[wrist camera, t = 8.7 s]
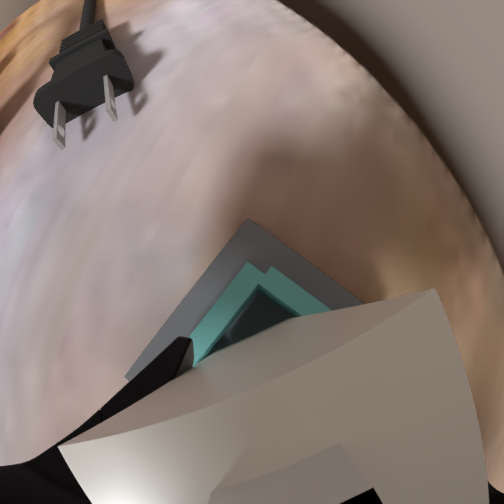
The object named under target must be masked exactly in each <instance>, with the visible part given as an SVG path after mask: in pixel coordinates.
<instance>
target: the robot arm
mask: <svg viewBox="0 0 504 504" xmlns="http://www.w3.org/2000/svg"><path fill="white" fill-rule="evenodd" d="M193 362H194V348H193V340H192V338H189V337H184V336H178V337H177V338H176V339H175V340H174V341H173V342H171V343H170V344H169V345H168V346H167V347H166V348H165V349H164V350H163V351H162V352H161V353H160V354H159V355H158V356H157V357H155V358H154V359H153V360H152V361H151V362H150V363H149V364H148V365H147V366H146V367H145V368H144V369H143V370H141V371H140V372H139V373H138V374H137V375H136V376H135V377H134V378H133V379H132V380H131V381H130V382H129V383H127V384H126V385H125V386H124V387H123V388H122V389H121V390H120V391H119V392H118V393H117V394H116V395H114V396H113V397H112V398H111V399H110V400H109V401H108V402H107V403H106V404H105V405H104V406H103V407H101V410H98V411H97V412H96V413H95V414H94V415H93V416H91V417H90V418H89V419H88V420H87V421H86V422H85V423H83V424H82V425H81V426H80V427H79V428H77V429H76V430H75V431H73V432H72V433H71V434H69V435H68V436H67V437H65V438H64V439H62V440H61V441H59V442H58V443H56V444H55V445H53V446H52V447H51V448H49V449H48V450H46V451H45V452H43V453H42V454H40V455H39V456H37V457H35V458H34V459H32V460H29V461H27V462H24V463H20V464H14V465H7V466H0V504H92V502H91V501H90V500H89V498H88V497H87V495H86V494H85V492H84V491H83V489H82V488H81V486H80V484H79V483H78V481H77V480H76V478H75V476H74V475H73V473H72V471H71V470H70V468H69V466H68V464H67V463H66V461H65V459H64V457H63V455H62V454H61V452H60V450H59V448H58V446H59V445H61V444H63V443H65V442H67V441H69V440H71V439H73V438H75V437H76V436H78V435H80V434H82V433H84V432H86V431H87V430H89V429H91V428H93V427H95V426H96V425H98V424H100V423H102V422H103V421H105V420H107V419H109V418H110V417H112V416H114V415H116V414H117V413H119V412H121V411H122V410H124V409H126V408H128V407H129V406H131V405H133V404H134V403H136V402H138V401H139V400H141V399H143V398H144V397H146V396H147V395H149V394H151V393H152V392H154V391H156V390H157V389H159V388H160V387H162V386H164V385H165V384H167V383H168V382H170V381H172V380H174V379H175V378H177V377H179V376H180V375H182V374H184V373H185V372H187V371H188V370H190V369H191V368H192V367H193ZM488 492H489V504H504V493H502V492H500V491H498V490H496V489H495V488H494V487H493V486H492V485H491V484H490V483H489V482H488Z"/></svg>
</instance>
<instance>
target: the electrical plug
mask: <svg viewBox="0 0 504 504" xmlns="http://www.w3.org/2000/svg"><path fill="white" fill-rule="evenodd" d="M95 3H96V0H85V2H84V7H83V12H82V17H81V23H80V29H79V31H78V32H76V33H74V34H72V35H70V36H68V37H67V38H65V39H63V40H62V43H61V46H60V51H59V52H60V53H59V54H58V55H56V56H54V57H53V58H51V59H50V61H49V64H50V65H51V67H52V68H53V70H54V73H53V75H52V78H51V81H49V82H48V83H46V84H45V85H43V86H42V87H41V88H39V89H38V90H37V92H36V93H35V97H34V102H33V104H34V108H35V109H36V111H37V112H38V113H39V114H40V115H41V117H42V118H43V119H44V120H45V121H46V122H47V124H48V125H49V126H51V127H52V128H54V129H53V141H54V142H55V143H56V144H57V145H58V146H59V147H60V148H61V149H63V148H65V124H66V123H68V122H69V121H71V120H73V119H75V118H76V117H78V116H80V115H82V114H84V113H85V112H87V111H89V110H91V109H93V108H95V107H97V106H99V105H101V104H103V103H105V102H106V111H107V112H108V114H109V115H110V117H111V119H112V120H113V122H114V121H116V120H118V119H117V113H116V106H115V97H117V96H119V95H121V94H124V93H126V92H128V91H130V90H132V89H133V87H134V82H133V78H132V74H131V72H130V70H129V67H128V65H127V63H126V61H125V58H124V56H123V55H122V53H121V52H120V51H118V50H116V47H115V45H114V43H113V41H112V38H111V36H110V34H109V32H108V29H106V27H105V25H104V22H103V20H102V19H101V20H99V21H97V22H95V23H94V15H95ZM58 129H59V130H60V132H61V135H60V133H59V132H58Z"/></svg>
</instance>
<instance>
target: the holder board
mask: <svg viewBox="0 0 504 504" xmlns="http://www.w3.org/2000/svg"><path fill="white" fill-rule="evenodd" d="M363 304H365V303H363V302H362V301H361V300H359V299H358V298H357V297H355V296H354V295H353V294H351V293H350V292H349V291H347V290H346V289H345V288H343V287H342V286H341V285H339V284H338V283H337V282H335V281H334V280H333V279H331V278H330V277H329V276H327V275H326V274H325V273H323V272H322V271H320V270H319V269H318V268H316V267H315V266H314V265H312V264H311V263H310V262H308V261H307V260H306V259H304V258H303V257H301V256H300V255H299V254H297V253H296V252H295V251H293V250H292V249H290V248H289V247H288V246H286V245H285V244H284V243H282V242H281V241H279V240H278V239H277V238H275V237H274V236H272V235H271V234H270V233H268V232H267V231H265V230H264V229H263V228H261V227H260V226H258V225H257V224H256V223H254V222H253V221H251V220H250V219H249V218H248V219H247V220H246V221H245V222H244V224H243V225H242V226H241V227H240V228H239V230H238V231H237V232H236V233H235V235H234V236H233V237H232V238H231V240H230V241H229V242H228V243H227V245H226V246H225V247H224V248H223V250H222V251H221V252H220V253H219V255H218V256H217V257H216V258H215V260H214V261H213V262H212V263H211V265H210V266H209V267H208V269H207V270H206V271H205V272H204V274H203V275H202V276H201V277H200V279H199V280H198V281H197V282H196V284H195V285H194V286H193V288H192V289H191V290H190V291H189V293H188V294H187V295H186V297H185V298H184V299H183V300H182V302H181V303H180V304H179V306H178V307H177V308H176V309H175V311H174V312H173V313H172V315H171V316H170V317H169V318H168V320H167V321H166V322H165V324H164V325H163V326H162V328H161V329H160V330H159V332H158V333H157V334H156V335H155V337H154V338H153V339H152V341H151V342H150V343H149V345H148V346H147V347H146V349H145V350H144V351H143V353H142V354H141V355H140V357H139V358H138V359H137V361H136V362H135V363H134V365H133V366H132V367H131V369H130V370H129V371H128V373H127V374H126V375H125V377H126V378H127V379H128V380H129V381H131V380H132V379H133V378H134V377H135V376H136V375H137V374H138V373H139V372H140V371H141V370H143V369H144V368H145V367H146V366H147V365H148V364H149V363H150V362H151V361H152V360H153V359H154V358H155V357H157V356H158V355H159V354H160V353H161V352H162V351H163V350H164V349H165V348H166V347H167V346H168V345H169V344H170V343H171V342H173V341H174V340H175V339H176V338H177V337H178V336H184V337H189V338H192V340H193V348H194V362H193V366H195V365H196V364H198V363H199V362H201V361H202V360H204V359H205V358H207V357H208V356H210V355H211V354H213V353H214V352H216V351H217V350H219V349H222V348H224V347H227V346H229V345H231V344H233V343H236V342H238V341H240V340H243V339H245V338H247V337H249V336H252V335H254V334H256V333H258V332H260V331H263V330H265V329H267V328H269V327H271V326H273V325H275V324H278V323H280V322H282V321H284V320H286V319H288V318H294V317H300V316H306V315H311V314H317V313H323V312H328V311H333V310H338V309H344V308H349V307H354V306H358V305H363Z"/></svg>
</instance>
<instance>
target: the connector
mask: <svg viewBox="0 0 504 504" xmlns="http://www.w3.org/2000/svg"><path fill="white" fill-rule="evenodd" d="M58 448H59V450H60V452H61V454H62V455H63V457H64V459H65V461H66V463H67V464H68V466H69V468H70V470H71V471H72V473H73V475H74V476H75V478H76V480H77V481H78V483H79V484H80V486H81V488H82V489H83V491H84V492H85V494H86V495H87V497H88V498H89V500H90V501H91V502H92V504H489V492H488V480H487V471H486V463H485V455H484V449H483V443H482V437H481V432H480V426H479V421H478V417H477V412H476V408H475V404H474V400H473V396H472V392H471V388H470V384H469V381H468V377H467V374H466V370H465V367H464V364H463V361H462V357H461V354H460V351H459V348H458V345H457V342H456V339H455V337H454V334H453V331H452V328H451V326H450V323H449V320H448V318H447V315H446V312H445V310H444V307H443V305H442V303H441V300H440V298H439V295H438V293H437V291H436V288H432V289H428V290H424V291H420V292H416V293H412V294H408V295H403V296H399V297H395V298H391V299H386V300H382V301H377V302H373V303H368V304H363V305H358V306H354V307H349V308H344V309H338V310H333V311H328V312H323V313H317V314H311V315H306V316H300V317H294V318H288V319H286V320H284V321H282V322H280V323H278V324H275V325H273V326H271V327H269V328H267V329H265V330H263V331H260V332H258V333H256V334H254V335H252V336H249V337H247V338H245V339H243V340H240V341H238V342H236V343H233V344H231V345H229V346H227V347H224V348H222V349H219V350H217V351H216V352H214V353H213V354H211V355H210V356H208V357H207V358H205V359H204V360H202V361H201V362H199V363H198V364H196V365H195V366H193V367H192V368H191V369H190V370H188V371H187V372H185V373H184V374H182V375H180V376H179V377H177V378H175V379H174V380H172V381H170V382H168V383H167V384H165V385H164V386H162V387H160V388H159V389H157V390H156V391H154V392H152V393H151V394H149V395H147V396H146V397H144V398H143V399H141V400H139V401H138V402H136V403H134V404H133V405H131V406H129V407H128V408H126V409H124V410H122V411H121V412H119V413H117V414H116V415H114V416H112V417H110V418H109V419H107V420H105V421H103V422H102V423H100V424H98V425H96V426H95V427H93V428H91V429H89V430H87V431H86V432H84V433H82V434H80V435H78V436H76V437H75V438H73V439H71V440H69V441H67V442H65V443H63V444H61V445H59V446H58Z"/></svg>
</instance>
